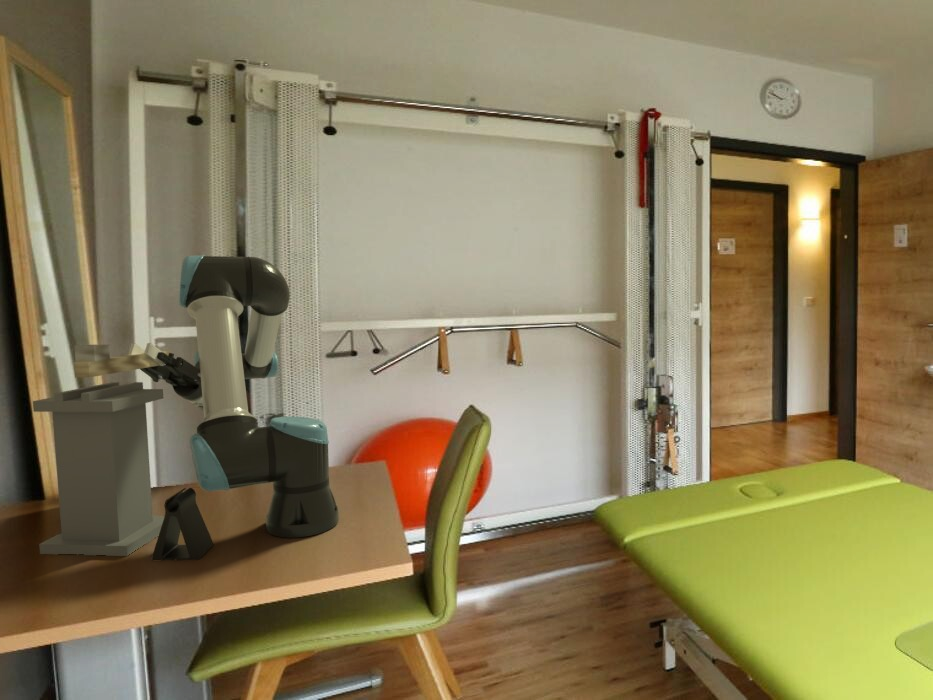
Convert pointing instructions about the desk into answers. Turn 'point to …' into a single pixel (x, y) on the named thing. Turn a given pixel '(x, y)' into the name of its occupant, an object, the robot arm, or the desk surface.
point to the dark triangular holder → (182, 529)
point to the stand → (102, 469)
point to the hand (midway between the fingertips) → (139, 348)
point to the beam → (107, 361)
